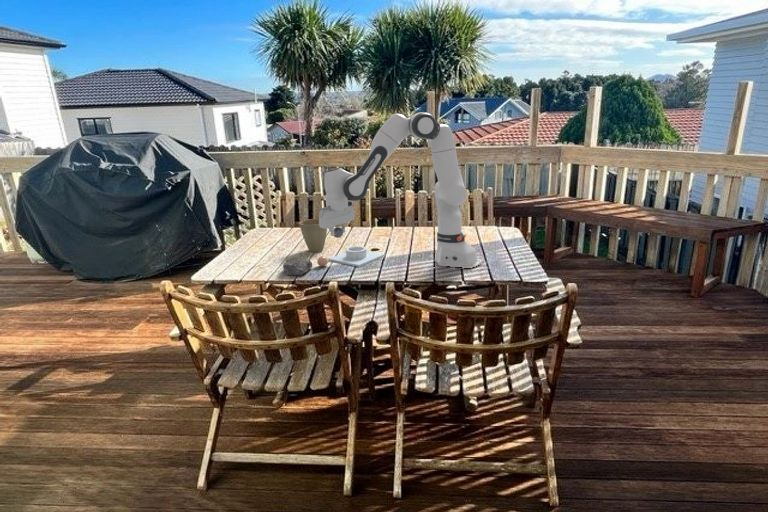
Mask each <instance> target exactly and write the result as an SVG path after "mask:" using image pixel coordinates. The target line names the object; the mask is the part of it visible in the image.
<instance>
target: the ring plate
mask: <svg viewBox="0 0 768 512" xmlns="http://www.w3.org/2000/svg"><path fill="white" fill-rule="evenodd" d="M383 256H384V257H385V254H384V253H378V252H373V251H367V247H365V246H361V245H360V246H359V245H355V246H354V245H352V246H349V247H346V248H345V252H342V253H340V254H337V255H334V256H332V257H329V258H327V259H328V262H329V261H330V262H332V263H338V264H343V265H347V266H352V267H357V268H360V267H363V266H365V265H367V264H370V263H372V262H374V261H376V260H379V259H381V257H382V258H384V257H383Z"/></svg>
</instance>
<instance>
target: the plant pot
mask: <svg viewBox="0 0 768 512" xmlns="http://www.w3.org/2000/svg"><path fill="white" fill-rule="evenodd" d="M299 227H300V231H301V232H300V233H301V234H302V237H303V239H304V242H305V244H306V247H307V249H308V250H309V252H310V251H311V253H319V252H318V251H320V252H322V251H324V248H325V244H326V239H327V233H328V228H327V229H323V228H320V226H319V218H311V219H309V218H308V219H305V220H302V221H299Z"/></svg>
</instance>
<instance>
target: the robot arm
mask: <svg viewBox="0 0 768 512" xmlns="http://www.w3.org/2000/svg"><path fill="white" fill-rule="evenodd" d="M408 136H409V137H410V136H411V137H413V138H414V139H419V140H422V139H423V140H424V139H425V140H427V141H428V143H429V146H430V152H431V158H432V165H433V166H432V167H433V170H434V172H435V175H436V178H437V182H436V183H435V184H434V187H433V191H434V196H435V203H436V212H437V232H436V241H437V245H436V246H437V248H436V253H435V257H434V262H435V263H436V264H437V265H438V266H439V267H446V266H450V267H449V268H455V267H462V268H461V269H464V268H471V269H473V268H472V267H475V268H477V267H479V266H481V264H482V263H483V261H482V260H483V259H481V258H478V254H477V250H476V248H474V247H473V245H471V244H470V243H468V242H467V241H466V239H465V238H466V237H467V234H464V233H463V232H462V229H463V227H462V223H463V221H462V219H463V216H462V213H461V208H460V206H461V205H463V204H464V203H465V201H466V200H467V198H468V191H467V189H466V187H465V184H464V179H463V176H462V173H461V169H460V167H459V161H458V154H457V147H456V142H455V138H454V134H453V131H452V127H450V126H449V125H447V124H443V123H441V124H440V123H439V122H438V121H437V120H436V118H435V117H434V116H433V115H432V114H431V113H428V112H425V111H424V112H423V111H421V112H416V113H413V114H412V115H409V116H407V117H406V116H405V115H403V114H401V113H393V114H392V115H391V116H390V117H388V119H387V120H386V121H384V123H383V125H382V126H381V127H380V128H379V129H378V131H377V132H376V134H375V136H374V137H373V140H372V141H371V144H370V152H369V154H368V157H367V159H366V160H365V161H364V163H363V164H362V166H361V167H360V168H359V170H358V171H357V173H352V172H349V171H346V170H345V169H343V168H342V167H334V168H333V167H332V168H330V169H328V170H326V171H325V172H324V178H323V179H324V181H323V182H324V184H323V185H324V190H325V207H322V208H321V209H320V210H319V215H318V219H319V226H320V228H323V229H327V230H328V231H329V232H330V236H331V237H334V236H335V235H336V232H334V230H333V229H334V228H335V227H338V226H339V225H341V227H340V228H342V230H343V234H344V233H346V228H347V223H349V222H353V221H354V219H355V208H354V207H353V206H354V202H356V201H361V200H363V199H364V197H365V196H366V194H367V192H368V187H369V184H370V181H372V179H373V178H374V176H375V174H376V173H377V171H378V170H379V169H380V167H381V166H382V164H383V163H384V162H385V161H387V159H388V158H390V156H391V155H392V154H393V153H394V152H396V150H397V148H399V146H400V145H401V143H402V142H403V140H404V139H405V138H406V137H408ZM346 198H347V199H346ZM478 265H479V266H478ZM476 266H477V267H476Z"/></svg>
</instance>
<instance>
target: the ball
mask: <svg viewBox="0 0 768 512" xmlns="http://www.w3.org/2000/svg"><path fill="white" fill-rule="evenodd" d="M328 259H329V258H327V256H324V255H321V256H318V258H317V262H316V263H317V265H318V266H319V267H326V266H327V264H328V262H329V260H328Z"/></svg>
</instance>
